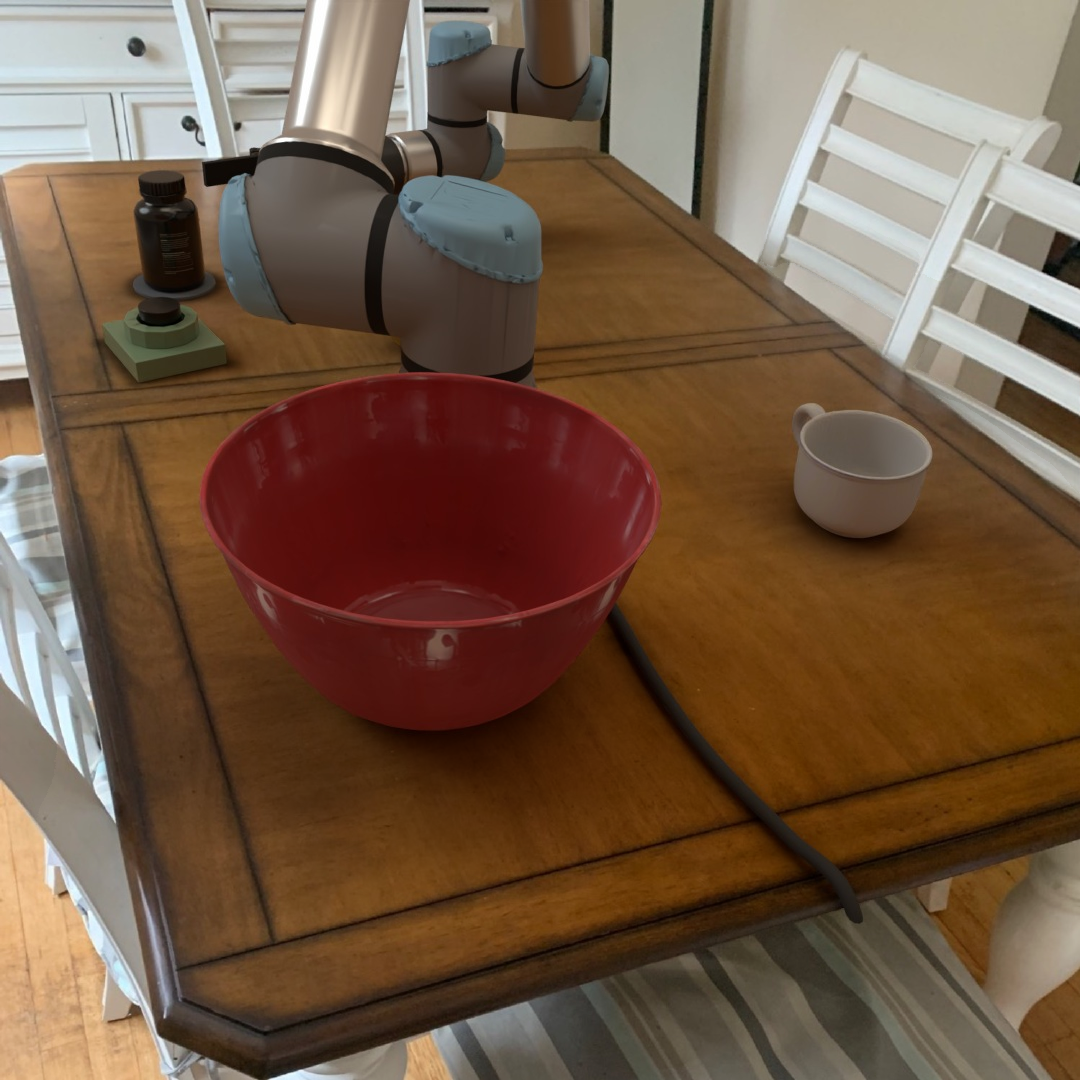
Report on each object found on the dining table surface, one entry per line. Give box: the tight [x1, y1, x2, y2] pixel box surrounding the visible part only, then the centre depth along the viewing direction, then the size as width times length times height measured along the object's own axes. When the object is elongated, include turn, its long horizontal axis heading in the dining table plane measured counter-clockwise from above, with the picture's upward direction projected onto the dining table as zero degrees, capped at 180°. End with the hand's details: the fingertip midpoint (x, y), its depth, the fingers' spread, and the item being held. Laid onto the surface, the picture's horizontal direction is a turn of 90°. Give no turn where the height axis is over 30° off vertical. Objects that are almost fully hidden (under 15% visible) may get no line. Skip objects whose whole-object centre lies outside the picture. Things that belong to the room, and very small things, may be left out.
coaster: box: [132, 271, 217, 302], centre depth 128 cm, size 9×9×1 cm
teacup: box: [791, 402, 933, 539], centre depth 97 cm, size 14×11×8 cm
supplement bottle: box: [132, 169, 206, 292], centre depth 125 cm, size 7×7×12 cm
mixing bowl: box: [198, 372, 663, 731], centre depth 75 cm, size 28×28×16 cm
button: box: [137, 297, 182, 327], centre depth 112 cm, size 4×4×2 cm
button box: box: [101, 304, 228, 384], centre depth 114 cm, size 10×9×4 cm
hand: (230, 191), depth 127 cm, fingers open, 13 cm apart
